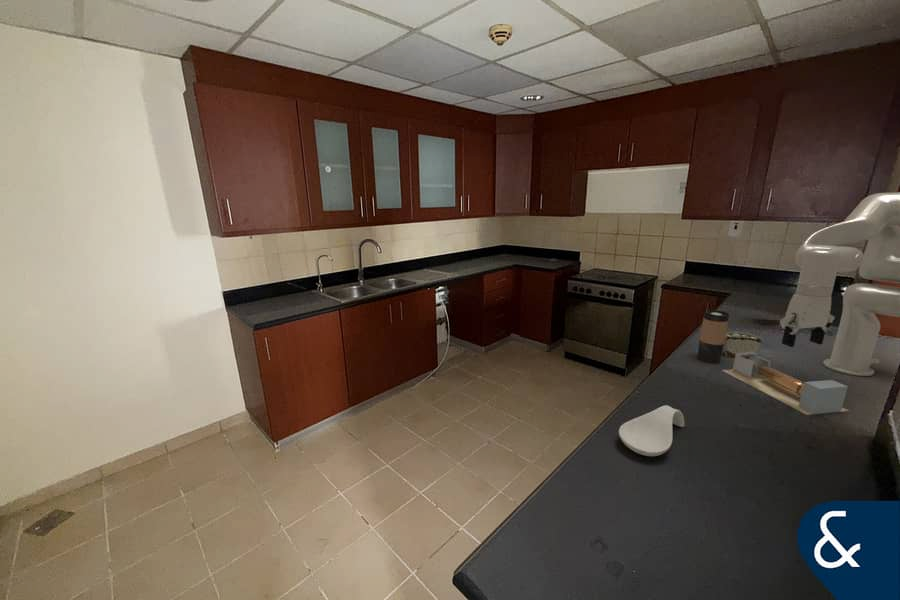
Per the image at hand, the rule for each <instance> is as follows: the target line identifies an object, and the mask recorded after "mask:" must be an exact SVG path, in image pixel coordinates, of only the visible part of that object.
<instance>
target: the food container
mask: <svg viewBox="0 0 900 600" xmlns="http://www.w3.org/2000/svg"><path fill="white" fill-rule="evenodd" d="M761 344H764V339H763V337H761V336H759V335H756V334H753V333H749V332H744V331H729V332H726V336H725V342H724V346H725V347H724V357H725V358H732V359H735V355H736V353H741V352H755V353H757V354H759V353H758V352H759V350H760V346H761ZM744 358H746V359H749V357H744Z"/></svg>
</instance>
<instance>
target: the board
mask: <svg viewBox="0 0 900 600" xmlns="http://www.w3.org/2000/svg"><path fill="white" fill-rule="evenodd" d="M722 372H724V373H726V374H728V375H730V376H732V377H734V378H736V379H738V380H739V381H742V382H744V383H746V384H747V385H749V386H751V387H752V388H755V389H757V390H758V391H760V392H763V393H765V394H766V395H769V396H770V397H772V398H774V399H776V400H778V401H779V402H781V403H784V404H785V405H787V406H789V407H791V408H793V409H795V410H797V411H798V412H801V413H802V414H803V415H807V416H808V415H813V414H812V413H810V412H808V411H806V410H804V409H802V408H800V407H799V403H800V399H801V396H800V395H798V394H796V393H794V392H792V391H790V390H788V389H786V388H784V387H782V386H780V385H778V384H776V383H774V382H771V381H769V380H767V379H754V380H750V379H748V378H746V377H744V376H742V375H740V374H738V373H736V372H734V371H733V368H732V369H722ZM841 412H842V413H843V412H850V410H849V409H848V408H845V407H843V406H842V409H841ZM830 413H831V414H832V413H833V412H830ZM830 413H829V414H830ZM819 414H822V413H819ZM819 414H818V415H819Z"/></svg>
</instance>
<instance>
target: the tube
mask: <svg viewBox="0 0 900 600" xmlns="http://www.w3.org/2000/svg"><path fill="white" fill-rule="evenodd" d="M758 374H759V376H761V377H763V378H765V379H767V380H769V381H771V382H774V383H776V384H778V385H780V386H782V387H784V388H786V389H788V390H790V391H792V392H794V393H796V394H798V395H800V396H801V395H802V391H803V387H804V383H805V381H801V380H799V379H798V378H795V377H794V376H791V375H789V374H786V373H784V372H781V371H779V370H777V369H774V368H772V367H771V366H770V367H768V366H762V367H761V368H760V369H759V371H758Z"/></svg>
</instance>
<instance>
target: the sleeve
mask: <svg viewBox="0 0 900 600" xmlns="http://www.w3.org/2000/svg"><path fill="white" fill-rule="evenodd" d="M744 357H749V359H746V358H744ZM771 364H772V361H770V360H768V359H765V358H763V357H761V356H759V353H755V352H741V353H736V355H735V358H734V360H733V365H732V366H733V367H732V369H733V371H734V372H736V373H738V374H740V375H742V376H744V377H746V378H748V379H750V380H754V379H765V378H763V377H761V376H759V374H758V371H759V369H760V368H761V367H762V366H768V367H770V368H771Z"/></svg>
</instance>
